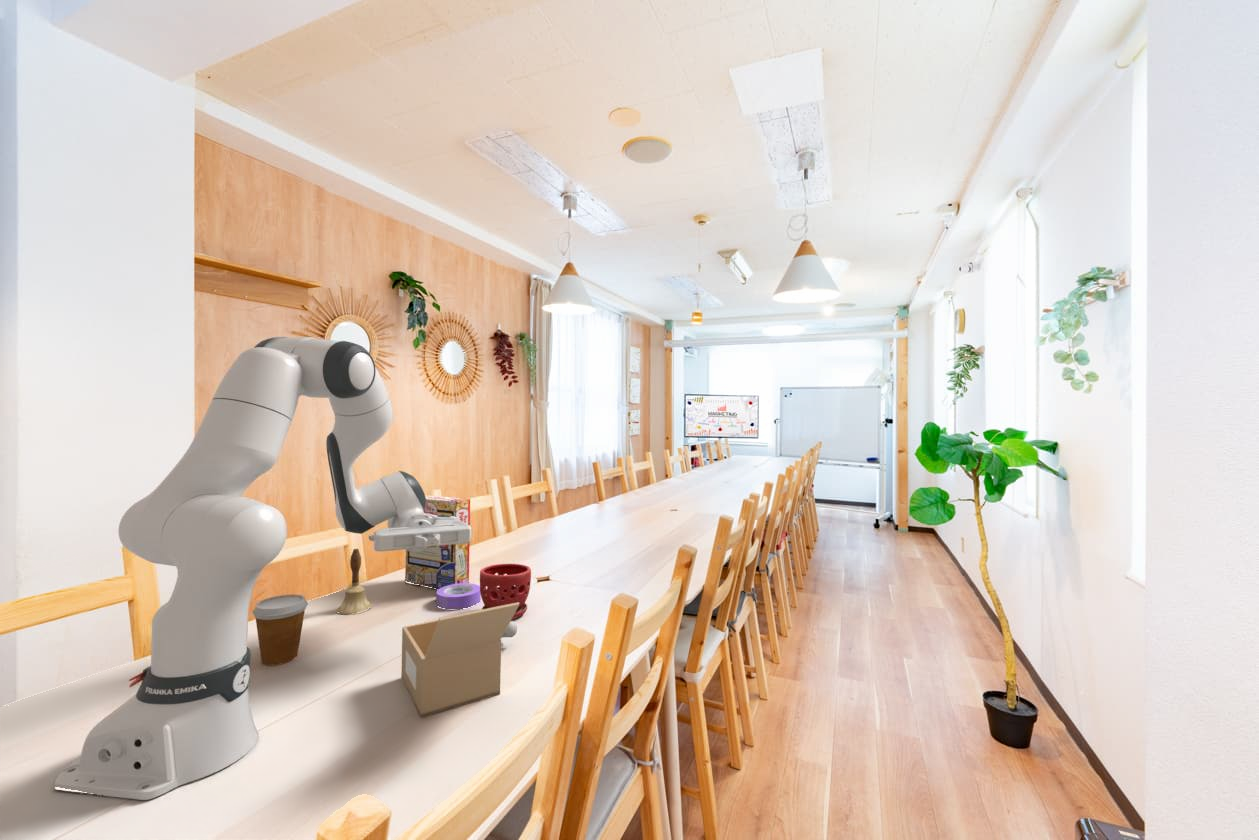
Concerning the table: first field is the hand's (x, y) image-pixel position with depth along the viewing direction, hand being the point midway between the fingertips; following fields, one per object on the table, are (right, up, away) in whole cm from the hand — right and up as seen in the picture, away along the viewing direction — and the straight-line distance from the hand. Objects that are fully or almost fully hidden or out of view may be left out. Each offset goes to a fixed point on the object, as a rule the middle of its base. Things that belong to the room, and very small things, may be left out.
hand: (432, 543), depth 106 cm
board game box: (-17, -25, +48) cm, 56 cm away
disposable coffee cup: (-32, -24, 0) cm, 40 cm away
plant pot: (+9, -25, +27) cm, 38 cm away
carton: (+7, -25, -9) cm, 28 cm away
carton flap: (+14, -10, -19) cm, 26 cm away
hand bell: (-32, -25, +28) cm, 49 cm away
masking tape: (-6, -25, +35) cm, 43 cm away
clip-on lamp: (+7, -25, +9) cm, 28 cm away
